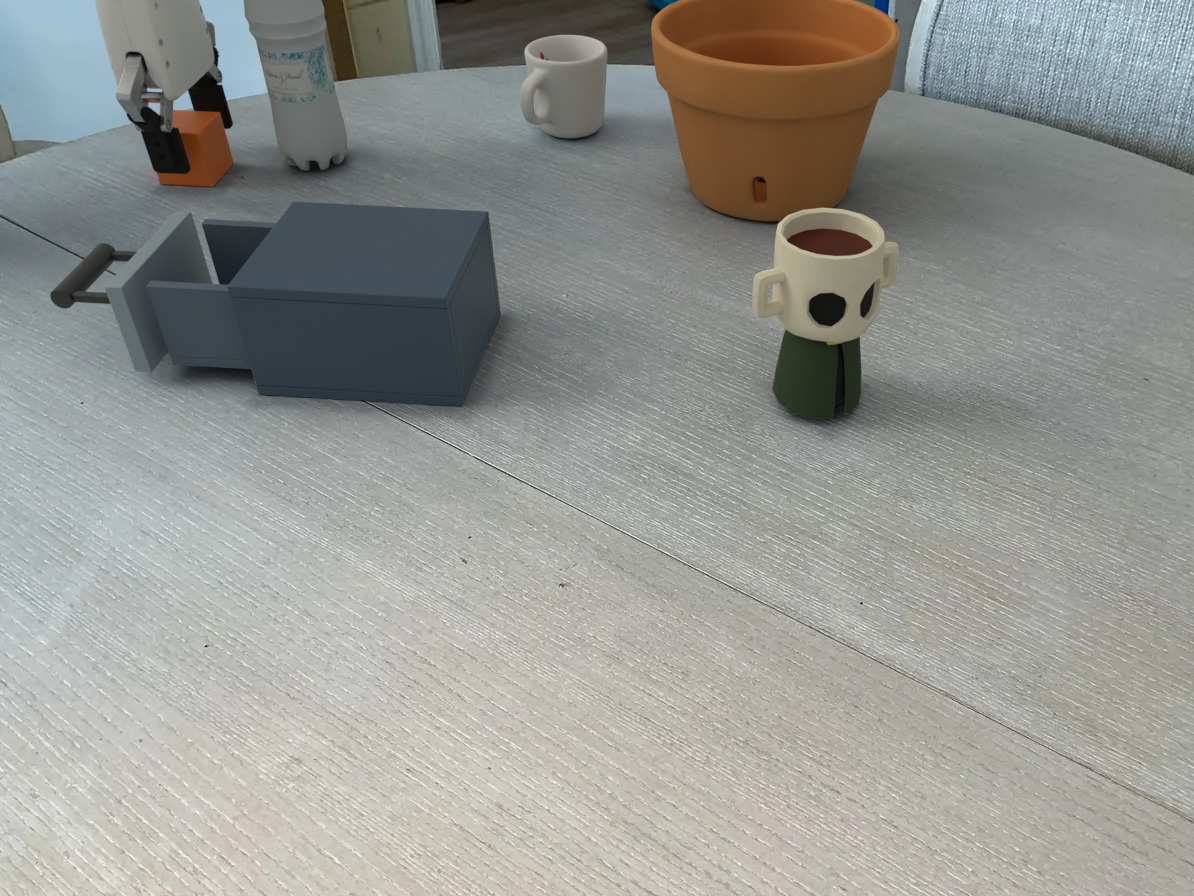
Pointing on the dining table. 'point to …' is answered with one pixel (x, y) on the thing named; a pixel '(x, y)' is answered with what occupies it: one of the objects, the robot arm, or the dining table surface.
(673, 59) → the flower pot
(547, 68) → the cup
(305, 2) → the bottle
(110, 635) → the dining table surface
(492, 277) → the drawer cabinet
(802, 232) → the character mug
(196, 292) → the drawer
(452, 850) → the dining table surface
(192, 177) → the block
